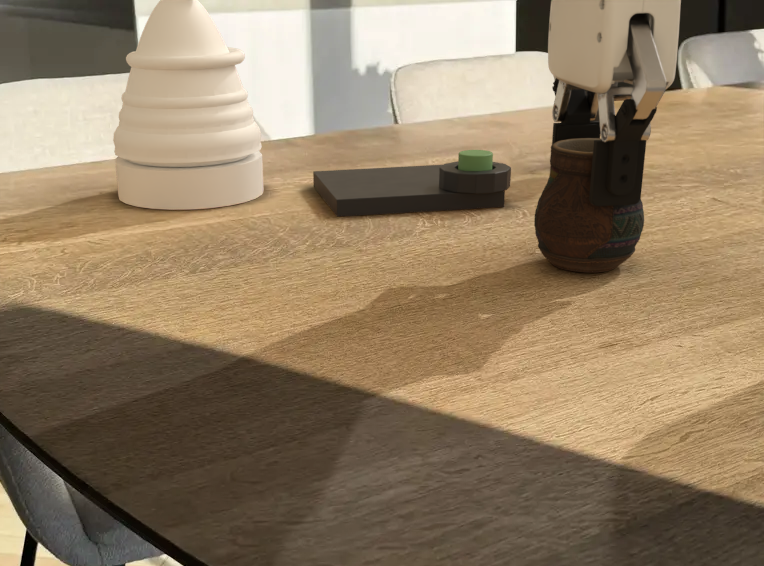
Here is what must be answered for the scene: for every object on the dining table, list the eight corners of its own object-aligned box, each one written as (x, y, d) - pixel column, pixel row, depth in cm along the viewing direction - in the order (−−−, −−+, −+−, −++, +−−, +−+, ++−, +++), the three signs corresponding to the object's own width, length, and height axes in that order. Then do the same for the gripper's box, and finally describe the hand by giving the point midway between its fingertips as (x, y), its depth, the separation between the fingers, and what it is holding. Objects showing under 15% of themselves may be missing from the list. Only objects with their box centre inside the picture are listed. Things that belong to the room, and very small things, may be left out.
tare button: (486, 167, 94) (487, 148, 93) (496, 174, 91) (497, 154, 90) (454, 169, 93) (454, 150, 93) (463, 175, 91) (464, 156, 90)
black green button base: (472, 178, 103) (473, 145, 101) (517, 208, 91) (519, 171, 90) (313, 186, 101) (312, 153, 99) (338, 219, 89) (338, 181, 88)
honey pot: (293, 189, 100) (287, -29, 92) (190, 216, 91) (174, -23, 83) (191, 173, 107) (178, -30, 100) (87, 197, 98) (64, -24, 91)
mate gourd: (564, 245, 80) (574, 101, 76) (662, 262, 76) (680, 110, 72) (510, 267, 75) (518, 114, 71) (612, 286, 71) (627, 125, 67)
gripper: (751, -119, 59) (708, 219, 66) (618, -107, 74) (596, 165, 82) (616, -117, 58) (588, 226, 65) (510, -105, 73) (497, 171, 81)
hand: (592, 190), depth 73 cm, fingers closed on mate gourd, 6 cm apart
